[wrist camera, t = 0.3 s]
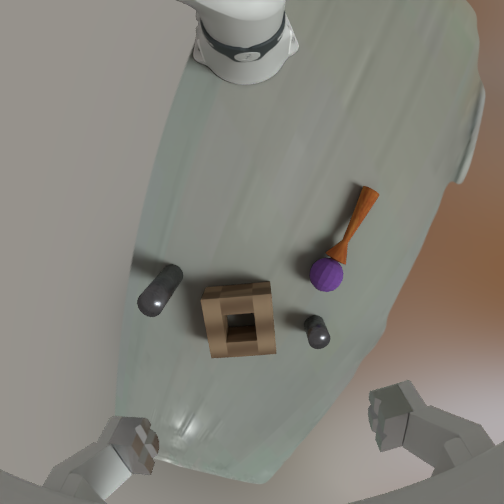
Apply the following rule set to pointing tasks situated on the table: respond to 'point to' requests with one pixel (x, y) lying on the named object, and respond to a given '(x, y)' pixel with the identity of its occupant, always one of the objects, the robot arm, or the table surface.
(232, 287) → the hole block
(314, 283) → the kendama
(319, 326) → the short pin
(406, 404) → the robot arm
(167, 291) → the long pin
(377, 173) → the table surface
